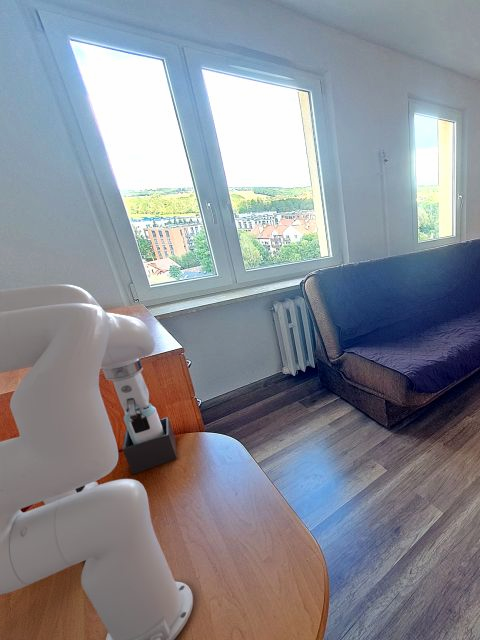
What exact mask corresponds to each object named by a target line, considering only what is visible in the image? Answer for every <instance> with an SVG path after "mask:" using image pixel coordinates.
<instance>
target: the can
mask: <svg viewBox="0 0 480 640" xmlns="http://www.w3.org/2000/svg"><path fill="white" fill-rule="evenodd" d="M137 408H140V407H139V406H136V409H137ZM142 409H143V413H144V417H145V416H146V418H147V420H148V423H149V426H150V429H149V430H146V431H142V432H139V433H135V431H134V429H133V426H132V424H131V420H130V416H129V412H128V413H126V412H124V416H123V422H124V424H125V426H126V430H127V429H128V432H129V434H130V437H131V439H132V442H133V444H134V445H136V444H139V443H142V442H145V441H148V440H151V439H154V438H157V437H160V436H163V435H165V433H164V431H163V428H162V425H161V422H160V419H161V418H160V417H159V413H158V411H157V408H156V407H155V406H154V405H152V403H151V402H149V403H148V406H147V408H142ZM138 413H139V414H140V410H138V411H137V414H138Z"/></svg>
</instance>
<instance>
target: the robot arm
mask: <svg viewBox="0 0 480 640" xmlns="http://www.w3.org/2000/svg"><path fill="white" fill-rule="evenodd" d="M155 346H156V343H155V339H154V336H153V334H152V332H151V330H150V329H149V327H148V326H147V324H146V323H145V322H144V321H143V320H141V319H139V318H137V317H133V316H130V315H124V314H118V313H113V312H106V311H105V310H104V309H103V308H102V306H101V305H100V304H99V302H98V301H97V300H96V299H95V298H94V297H93V296H92V294H91V293H89V292H88V291H86V289H83V288H82V287H79V286H77V285H73V284H65V283H63V284H62V283H56V284H55V283H54V284H44V285H35V286H34V285H33V286H25V287H17V288H16V287H15V288H7V289H6V288H5V289H0V374H4V373H8V372H14V371H18V370H23V369H27V368H30V369H29V370H28V371H27V373H26V374H25V375H24V376H23V378H22V379H21V380H20V382H19V383H18V385H17V386H16V387H15V390H14V391H13V393H12V396H11V398H10V402H9V408H10V411H11V414H12V416H13V419H14V421H15V425H16V428H17V431H18V434H19V436H17V437H12V438H8V439H6V440H2V441H0V596H1V595H5V594H9V593H12V592H15V591H18V590H20V589H23V588H25V587H27V586H29V585H32V584H35V583H36V582H38V581H41V580H44V579H45V578H47V577H50V576H52V575H54V574H56V573H58V572H61V571H64V570H65V569H68V568H70V567H73V566H76V565H78V564H80V563H82V562H84V561H85V563H84V565H83V568H82V571H81V575H80V584H81V587H82V590H83V592H84V593H85V595H86V596H87V599H88V600H89V601H90V603H91V605H92V607H93V608H94V610H95V612H96V614H97V615H98V617H99V619H100V620H101V622H102V625H104V627H105V630H106V631H107V634H106V637H105V640H175V639H176V638H177V636H178V635H180V633H181V632H182V630H183V629H184V627H185V625H186V624H187V622H188V621H189V618H190V616H191V614H192V611H193V606H194V595H193V592H192V589H190V587H189V585H187V584H186V583H185V582H181V581H176V580H175V578H174V576H173V573H172V571H171V569H170V566H169V564H168V562H167V559H166V556H165V553H164V552H163V550H162V547H161V545H160V542H159V540H158V538H157V535H156V532H155V530H154V526H153V523H152V518H151V512H150V505H149V504H150V503H149V497H148V494H147V490H146V489H145V487H144V485H143V483H141V482H140V481H139V480H137V479H134V478H120V479H115V480H111V481H107V482H104V483H100V484H98V485H97V486H95V487H92V488H89V489H86V490H84V491H81V492H78V493H75V494H73V495H70V496H67V497H64V498H62V499H60V500H57V501H55V502H52V503H49V504H46V505H45V504H43V505H41V506H37V507H35V508H32V509H30V510H27V511H25V512H23V511H22V509H24V508H27V507H30V506H33V505H35V504H38V503H41V502H44V500H47V499H49V498H52V497H55V496H58V495H60V494H63V493H66V492H69V491H71V490H74V489H77V488H79V487H82V486H85V485H87V484H90V483H92V482H97V481H98V480H101V479H102V478H104V477H106V476H108V475H110V473H112V471H114V470H115V468H116V466H117V464H118V462H119V449H118V448H119V447H118V444H117V440H116V437H115V434H114V430H113V427H112V424H111V421H110V418H109V415H108V413H107V409H106V405H105V404H104V399H103V397H102V394H101V390H100V371H101V370H102V372H103V375H104V378H105V379H106V381H111V382H112V383H113V386H114V389H115V392H116V394H117V398H118V401H119V403H120V406H121V408H122V410H123V412H124V413H125V412H126V413H128V412H129V416H130V420H131V424H132V426H133V429H134V431H135V433H139V432H142V431H146V430H149V429H150V426H149V423H148V420H147V418H146V416H145V417H144V413H143V409H142V408H147V406H148V403H150V401H149V400H150V392H149V389H148V387H147V384H146V382H145V380H144V377H143V375H142V371H143V369H144V368H143V365H142V362H141V359H142V358H146V357H149V356H150V355H151V354H153V353H154V351H155V349H156V347H155ZM136 406H139V407H140V408H137V409H136ZM138 410H140V414H139V413H138V414H137V411H138Z"/></svg>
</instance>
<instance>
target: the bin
mask: <svg viewBox="0 0 480 640" xmlns="http://www.w3.org/2000/svg"><path fill="white" fill-rule="evenodd" d="M159 419H160V422H161V425H162V428H163V431H164V433H165V435H163V436H160V437H157V438H154V439H151V440H148V441H145V442H142V443H139V444H136V445H134V444H133V442H132V439H131V437H130V434H129V432H128V429H127V428H126V429H125V430H124V436H123V437H124V438H123V445H122V452H123V454H124V457H125V459H126V462H127V464H128V466H129V469H130V471H131V474H132V475H136V474H139V473H142V472H144V471H147V470H150V469H152V468H155V467H158V466H160V465H161V466H162V465H164V464H166V463H169V462H172V461H175V460H177V458H178V457H177V456H178V455H177V440H176V439H177V438H176V436H175V433H174V431H173V430H174V429H173V427H172V425H171V421H170V419H169V416H166V417H163V418H159Z"/></svg>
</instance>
